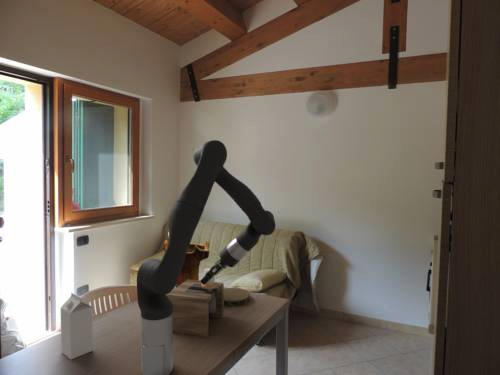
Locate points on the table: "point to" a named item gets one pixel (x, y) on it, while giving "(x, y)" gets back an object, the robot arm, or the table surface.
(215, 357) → the table surface
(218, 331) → the table surface
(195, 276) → the decorative vase
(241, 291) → the wood slice
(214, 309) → the cylinder with orange collar
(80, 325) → the milk carton
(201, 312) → the wooden slotted block
